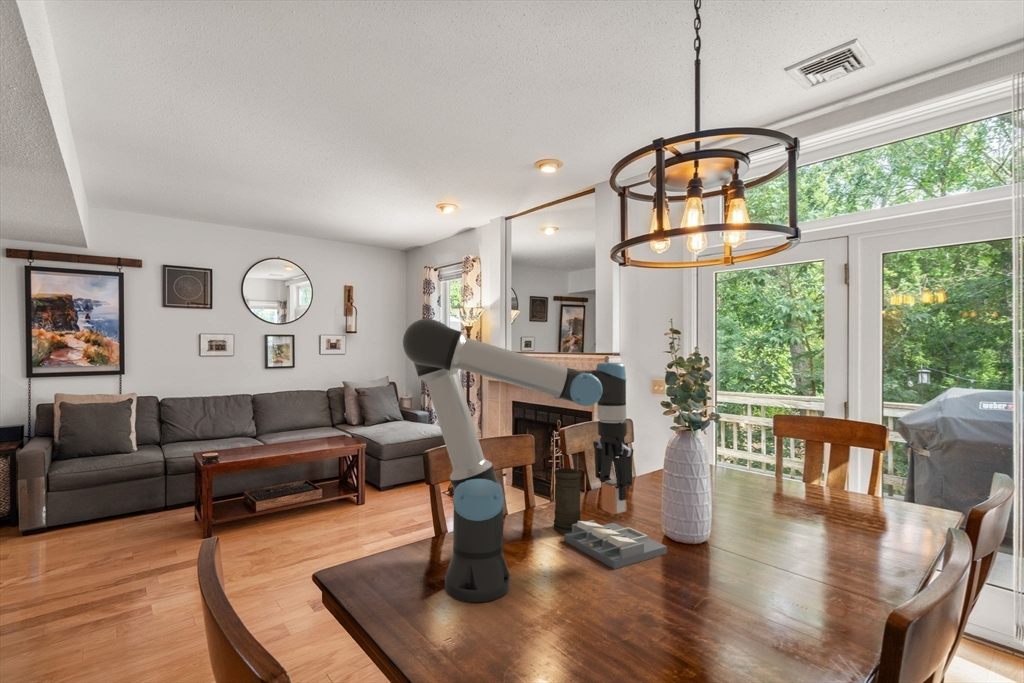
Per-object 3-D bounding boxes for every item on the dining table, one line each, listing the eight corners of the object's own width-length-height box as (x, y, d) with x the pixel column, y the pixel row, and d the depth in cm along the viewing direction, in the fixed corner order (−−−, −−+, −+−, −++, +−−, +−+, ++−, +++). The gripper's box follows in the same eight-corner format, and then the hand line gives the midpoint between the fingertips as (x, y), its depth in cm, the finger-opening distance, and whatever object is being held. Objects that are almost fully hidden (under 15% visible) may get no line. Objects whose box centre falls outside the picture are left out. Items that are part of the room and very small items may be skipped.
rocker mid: (601, 539, 133) (602, 532, 134) (591, 534, 137) (592, 527, 137) (619, 539, 137) (620, 533, 137) (609, 535, 140) (611, 528, 141)
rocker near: (618, 546, 128) (619, 540, 128) (607, 541, 131) (609, 535, 131) (637, 548, 131) (638, 542, 131) (626, 543, 135) (627, 537, 135)
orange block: (613, 514, 127) (612, 484, 127) (602, 509, 131) (601, 480, 131) (626, 511, 129) (625, 482, 129) (615, 506, 133) (614, 478, 133)
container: (572, 537, 146) (573, 476, 146) (547, 530, 151) (548, 471, 151) (587, 528, 153) (588, 470, 153) (562, 522, 158) (563, 466, 158)
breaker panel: (614, 569, 124) (614, 551, 125) (564, 541, 142) (564, 525, 143) (666, 553, 134) (667, 537, 134) (613, 529, 152) (613, 515, 152)
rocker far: (585, 530, 139) (586, 524, 139) (576, 526, 142) (577, 520, 143) (603, 532, 142) (604, 527, 143) (594, 528, 146) (595, 522, 146)
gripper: (646, 423, 124) (648, 516, 124) (601, 415, 140) (603, 498, 139) (623, 426, 121) (625, 521, 120) (580, 418, 136) (582, 502, 136)
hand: (613, 509), depth 130 cm, fingers closed on orange block, 4 cm apart
